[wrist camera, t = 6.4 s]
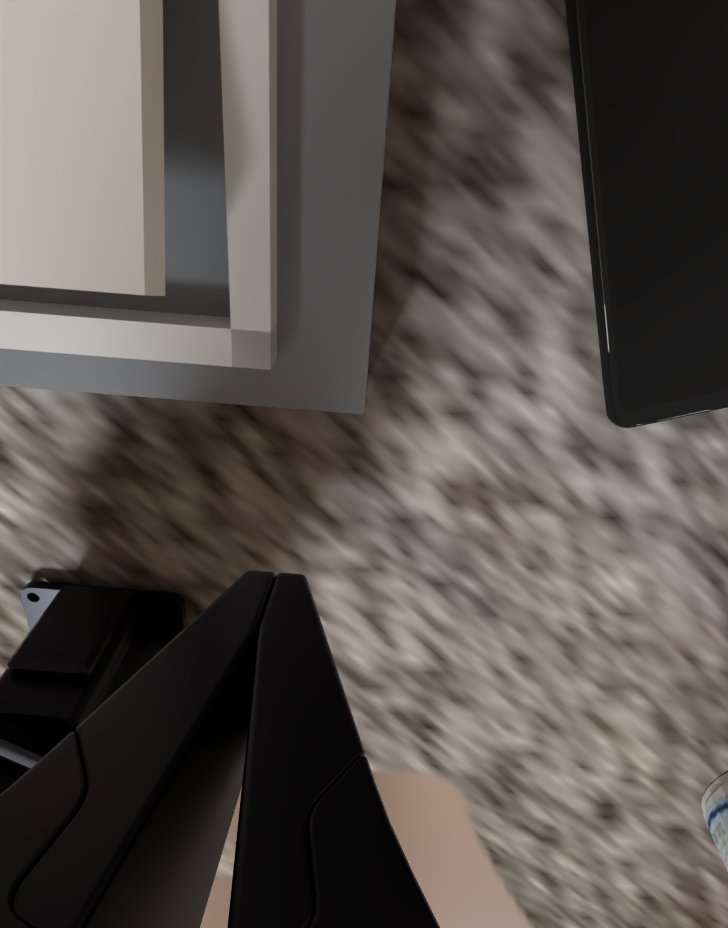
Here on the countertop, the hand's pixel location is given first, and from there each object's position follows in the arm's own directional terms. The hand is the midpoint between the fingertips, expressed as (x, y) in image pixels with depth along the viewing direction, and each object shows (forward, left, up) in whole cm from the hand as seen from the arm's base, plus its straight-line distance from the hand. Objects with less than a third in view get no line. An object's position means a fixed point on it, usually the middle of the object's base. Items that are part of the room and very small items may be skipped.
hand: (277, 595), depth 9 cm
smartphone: (+6, -10, -13) cm, 17 cm away
